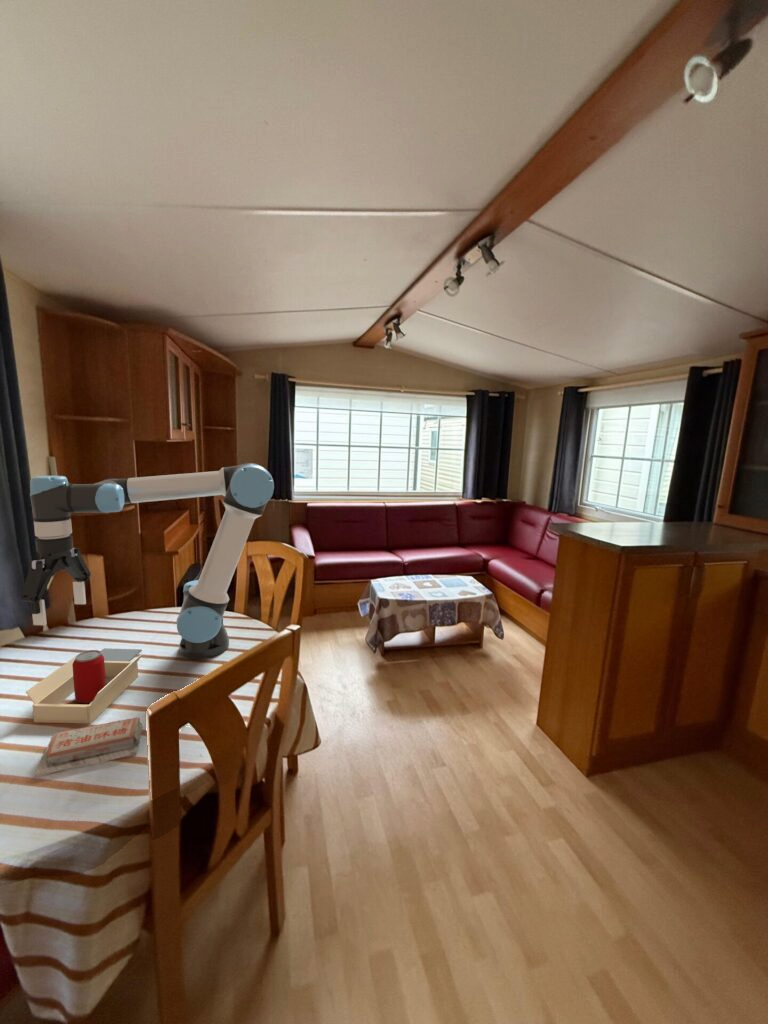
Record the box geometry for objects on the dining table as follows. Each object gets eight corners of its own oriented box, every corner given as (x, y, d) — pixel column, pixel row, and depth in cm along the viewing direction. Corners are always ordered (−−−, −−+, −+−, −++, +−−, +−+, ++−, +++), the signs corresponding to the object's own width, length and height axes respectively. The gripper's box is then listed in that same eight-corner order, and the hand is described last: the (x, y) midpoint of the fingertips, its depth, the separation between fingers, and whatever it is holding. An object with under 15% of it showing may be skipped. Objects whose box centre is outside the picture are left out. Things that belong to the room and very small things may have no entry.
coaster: (141, 650, 132) (141, 649, 132) (119, 670, 120) (119, 669, 120) (103, 649, 132) (103, 648, 132) (77, 669, 120) (77, 668, 120)
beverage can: (103, 686, 112) (100, 646, 110) (109, 698, 108) (106, 655, 106) (73, 696, 108) (69, 654, 106) (77, 708, 103) (74, 664, 101)
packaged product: (142, 709, 97) (136, 736, 88) (143, 727, 98) (137, 756, 89) (48, 726, 90) (31, 758, 81) (50, 746, 91) (33, 779, 82)
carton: (145, 676, 118) (144, 651, 117) (98, 724, 98) (96, 695, 97) (85, 674, 118) (83, 650, 116) (25, 722, 97) (22, 693, 96)
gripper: (75, 526, 118) (81, 596, 121) (-7, 547, 93) (4, 634, 96) (101, 526, 118) (107, 596, 121) (26, 548, 93) (35, 635, 96)
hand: (61, 613), depth 109 cm, fingers open, 13 cm apart
